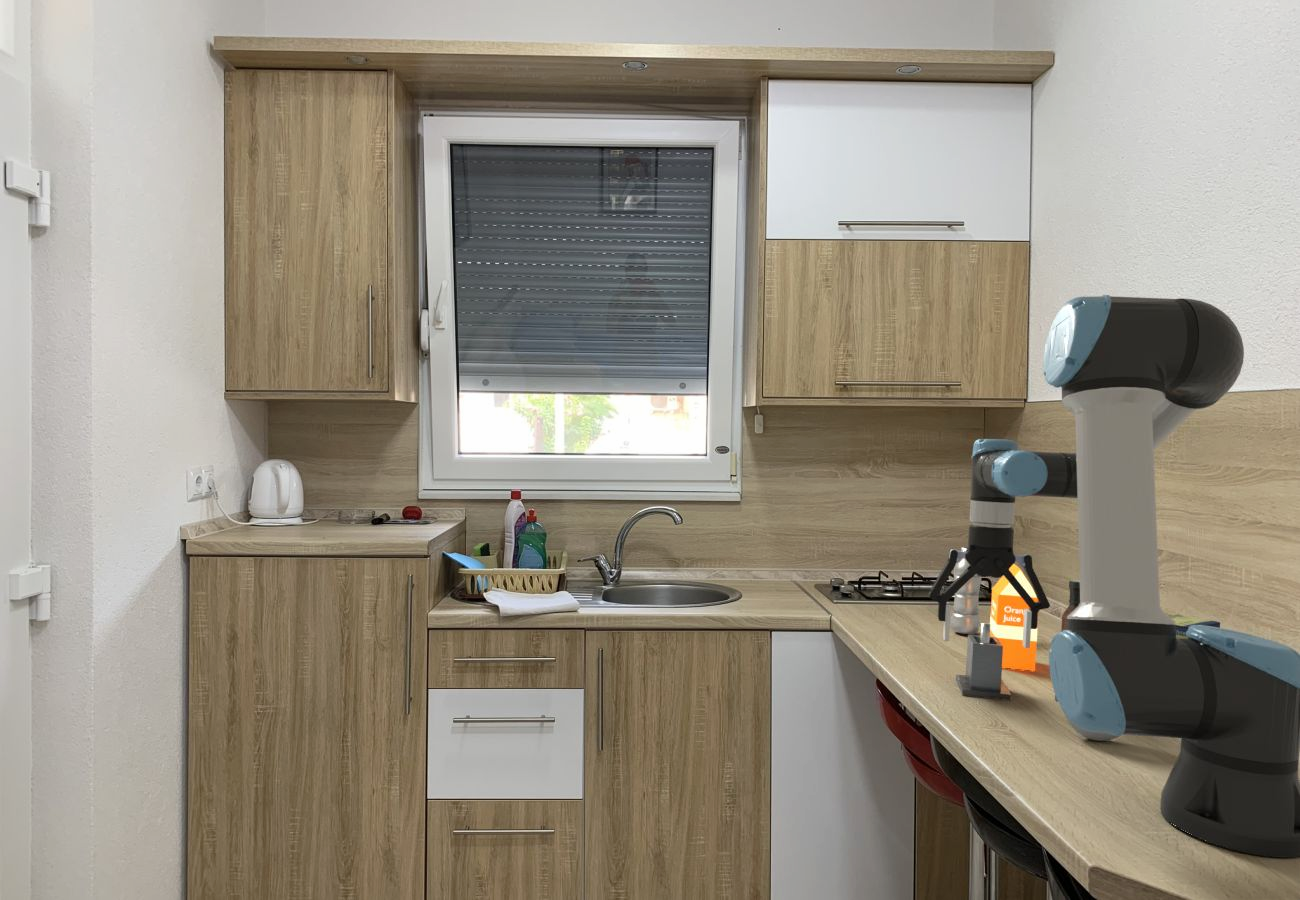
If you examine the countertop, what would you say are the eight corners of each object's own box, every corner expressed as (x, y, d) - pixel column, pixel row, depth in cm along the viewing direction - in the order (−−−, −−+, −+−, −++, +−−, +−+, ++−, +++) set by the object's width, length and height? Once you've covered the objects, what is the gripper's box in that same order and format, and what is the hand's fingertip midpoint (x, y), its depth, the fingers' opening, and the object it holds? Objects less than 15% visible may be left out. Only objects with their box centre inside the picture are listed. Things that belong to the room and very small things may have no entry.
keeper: (1010, 700, 152) (1014, 631, 152) (962, 695, 154) (966, 627, 154) (1001, 684, 162) (1004, 620, 162) (955, 679, 164) (959, 616, 164)
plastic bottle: (950, 635, 201) (955, 548, 200) (949, 629, 207) (953, 545, 207) (980, 638, 199) (985, 550, 199) (978, 632, 206) (983, 547, 205)
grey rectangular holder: (1000, 691, 154) (1003, 646, 154) (970, 688, 155) (973, 643, 155) (994, 680, 161) (996, 637, 161) (965, 677, 162) (967, 634, 162)
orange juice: (993, 667, 174) (999, 567, 174) (987, 656, 183) (992, 561, 182) (1036, 671, 172) (1041, 570, 172) (1027, 660, 181) (1033, 564, 180)
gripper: (1061, 527, 158) (1055, 645, 158) (917, 519, 164) (912, 632, 164) (1071, 531, 151) (1065, 654, 151) (920, 522, 156) (914, 640, 157)
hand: (985, 643), depth 157 cm, fingers open, 13 cm apart
